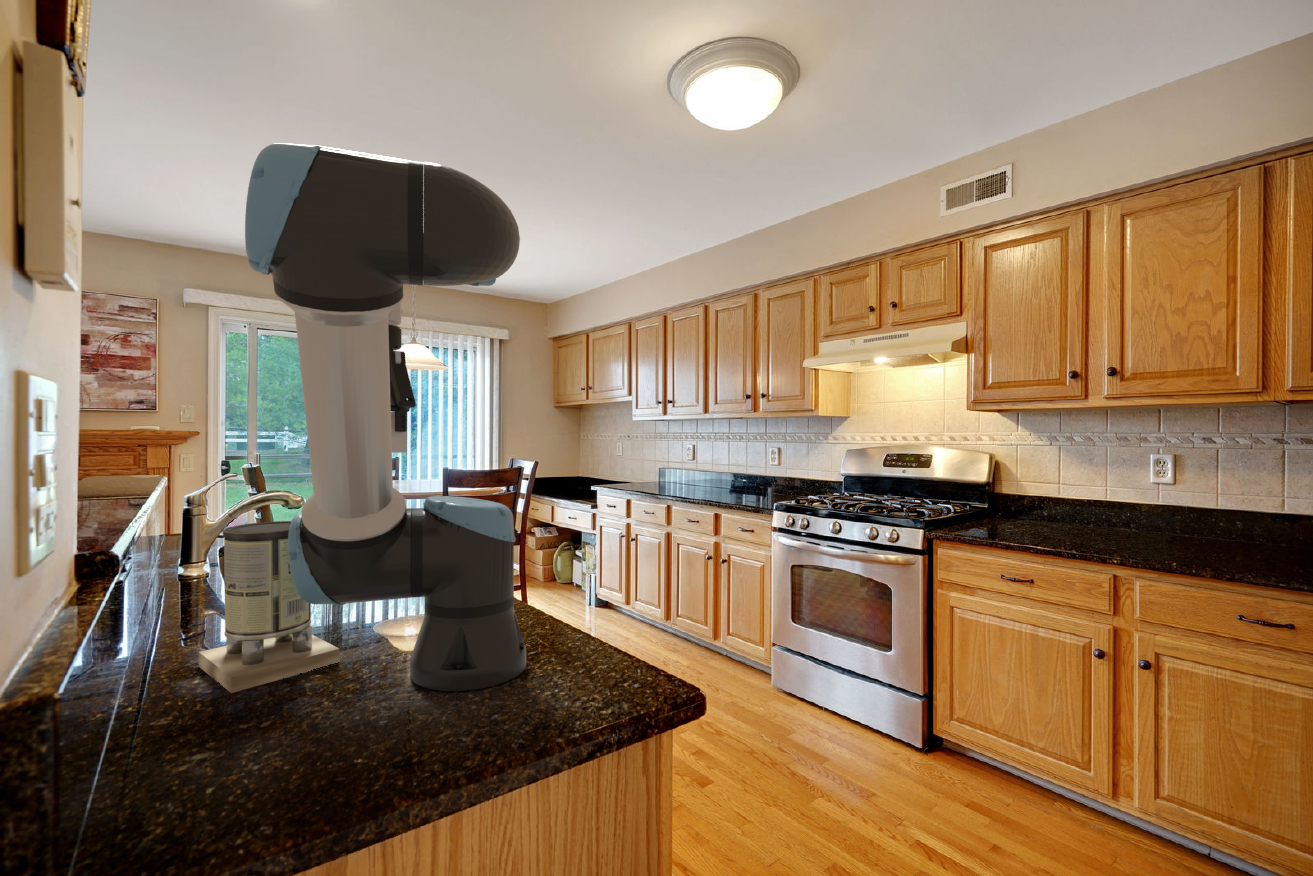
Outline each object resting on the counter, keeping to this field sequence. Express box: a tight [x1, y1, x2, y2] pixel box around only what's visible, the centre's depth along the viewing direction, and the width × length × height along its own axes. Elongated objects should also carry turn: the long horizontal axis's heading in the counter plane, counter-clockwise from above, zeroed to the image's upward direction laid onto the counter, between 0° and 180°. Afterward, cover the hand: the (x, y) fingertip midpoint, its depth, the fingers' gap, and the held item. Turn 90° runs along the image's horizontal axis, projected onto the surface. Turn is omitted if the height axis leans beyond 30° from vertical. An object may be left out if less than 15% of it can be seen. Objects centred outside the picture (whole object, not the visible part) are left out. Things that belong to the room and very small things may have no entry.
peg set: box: [225, 624, 313, 665], centre depth 86 cm, size 8×8×3 cm
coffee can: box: [222, 520, 312, 640], centre depth 86 cm, size 10×10×14 cm
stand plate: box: [198, 634, 341, 694], centre depth 86 cm, size 13×13×2 cm
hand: (377, 451), depth 106 cm, fingers open, 13 cm apart
